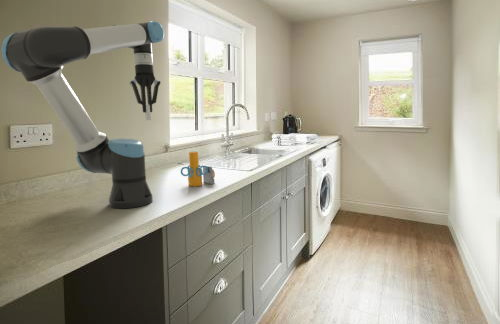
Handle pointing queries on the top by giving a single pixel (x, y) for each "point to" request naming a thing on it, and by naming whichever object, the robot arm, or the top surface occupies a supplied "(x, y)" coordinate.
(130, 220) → the top surface
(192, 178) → the orange block with rings
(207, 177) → the grey stone
